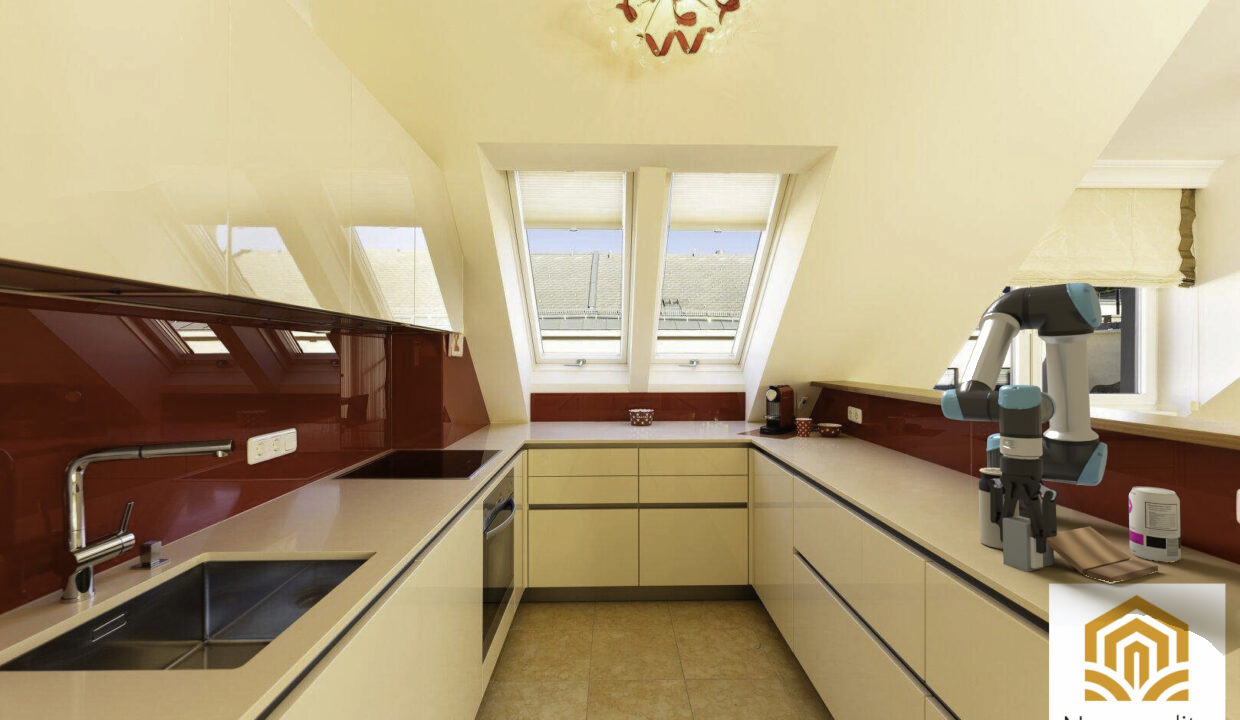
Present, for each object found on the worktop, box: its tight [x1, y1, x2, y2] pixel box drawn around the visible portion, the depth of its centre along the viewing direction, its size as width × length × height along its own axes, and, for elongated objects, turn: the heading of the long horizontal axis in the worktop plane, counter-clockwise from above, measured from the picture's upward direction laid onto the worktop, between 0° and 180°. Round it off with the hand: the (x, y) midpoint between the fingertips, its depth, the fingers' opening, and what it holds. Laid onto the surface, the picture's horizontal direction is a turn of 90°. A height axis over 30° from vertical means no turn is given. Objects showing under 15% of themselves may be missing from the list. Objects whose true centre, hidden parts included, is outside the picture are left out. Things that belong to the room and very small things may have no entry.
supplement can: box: [1128, 486, 1182, 563], centre depth 123 cm, size 8×8×15 cm
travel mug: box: [978, 467, 1019, 550], centre depth 133 cm, size 8×8×18 cm
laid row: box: [1083, 558, 1159, 582], centre depth 114 cm, size 16×5×1 cm, turn 111°
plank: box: [1046, 525, 1131, 575], centre depth 120 cm, size 16×9×1 cm
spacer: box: [1002, 516, 1055, 572], centre depth 120 cm, size 10×5×10 cm, turn 111°
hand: (1022, 562), depth 119 cm, fingers closed on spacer, 5 cm apart
